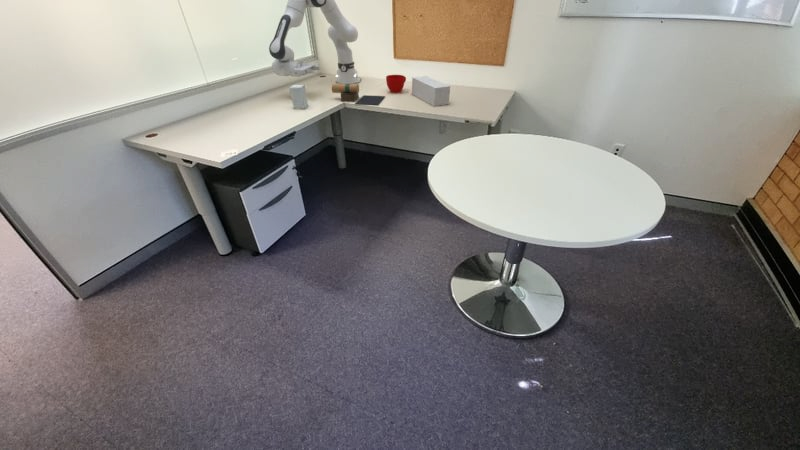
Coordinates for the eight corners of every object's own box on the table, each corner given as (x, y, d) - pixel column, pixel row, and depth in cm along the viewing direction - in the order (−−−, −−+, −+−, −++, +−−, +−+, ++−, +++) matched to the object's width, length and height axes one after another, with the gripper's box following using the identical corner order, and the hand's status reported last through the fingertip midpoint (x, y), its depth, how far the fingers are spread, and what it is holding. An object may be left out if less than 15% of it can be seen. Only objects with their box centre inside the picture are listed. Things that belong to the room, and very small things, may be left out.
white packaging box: (308, 105, 207) (305, 84, 199) (304, 109, 201) (301, 87, 193) (297, 105, 207) (293, 84, 200) (293, 108, 201) (288, 87, 194)
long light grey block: (411, 94, 228) (412, 77, 221) (425, 92, 231) (426, 75, 225) (434, 106, 204) (435, 88, 198) (448, 104, 207) (450, 86, 201)
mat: (363, 95, 225) (363, 95, 224) (385, 96, 222) (385, 96, 222) (355, 104, 209) (355, 103, 208) (377, 105, 206) (377, 104, 206)
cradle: (346, 97, 222) (345, 89, 219) (358, 97, 221) (358, 90, 218) (341, 101, 214) (340, 93, 212) (354, 101, 213) (353, 94, 210)
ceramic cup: (412, 90, 235) (412, 75, 230) (395, 95, 226) (395, 79, 220) (398, 87, 243) (398, 72, 237) (382, 91, 233) (382, 76, 227)
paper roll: (332, 93, 215) (331, 84, 212) (335, 91, 219) (334, 82, 216) (357, 94, 212) (356, 84, 209) (359, 92, 217) (358, 83, 213)
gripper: (288, 66, 202) (309, 67, 200) (302, 61, 219) (322, 61, 217) (290, 77, 206) (311, 78, 204) (304, 71, 222) (323, 72, 220)
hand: (316, 69), depth 210 cm, fingers open, 8 cm apart
